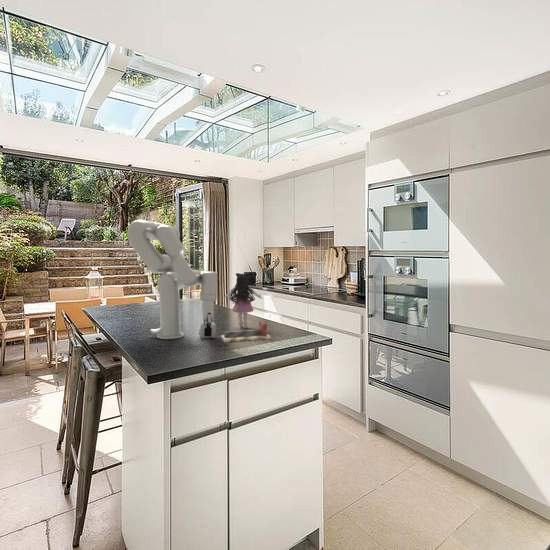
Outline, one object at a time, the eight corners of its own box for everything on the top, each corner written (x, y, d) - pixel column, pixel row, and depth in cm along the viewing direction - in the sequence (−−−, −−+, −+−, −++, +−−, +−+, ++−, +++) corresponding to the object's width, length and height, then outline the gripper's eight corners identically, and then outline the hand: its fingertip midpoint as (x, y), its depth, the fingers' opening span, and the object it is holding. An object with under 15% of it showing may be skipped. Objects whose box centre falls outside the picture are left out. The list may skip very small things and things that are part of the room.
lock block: (200, 337, 172) (200, 324, 172) (198, 334, 178) (199, 322, 178) (215, 337, 175) (215, 324, 174) (213, 334, 180) (214, 322, 180)
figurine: (264, 326, 204) (264, 272, 203) (262, 330, 194) (261, 273, 192) (224, 326, 206) (224, 272, 205) (220, 329, 196) (219, 273, 195)
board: (224, 342, 167) (224, 326, 167) (220, 337, 177) (220, 322, 176) (270, 339, 173) (270, 323, 173) (265, 334, 183) (265, 320, 183)
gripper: (198, 294, 182) (197, 330, 183) (202, 299, 166) (200, 338, 167) (214, 295, 185) (212, 330, 186) (219, 299, 168) (217, 338, 169)
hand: (207, 334), depth 176 cm, fingers closed on lock block, 6 cm apart
